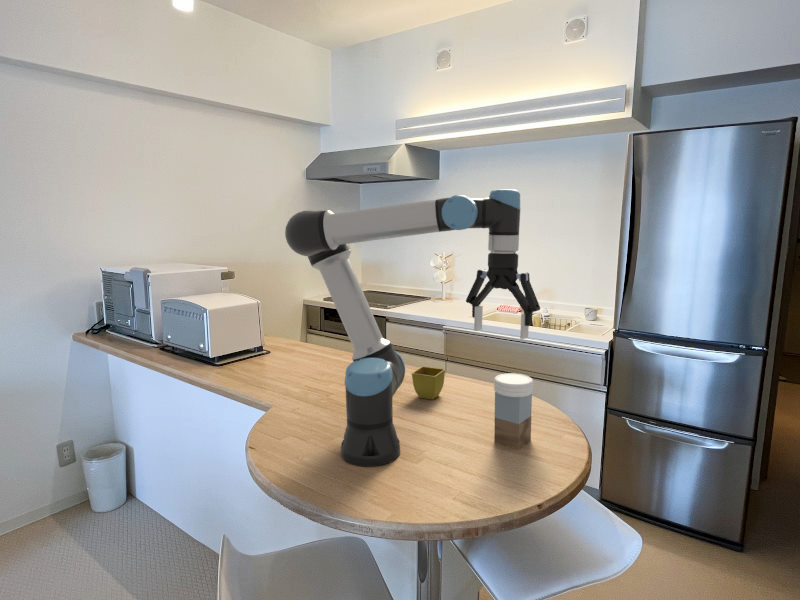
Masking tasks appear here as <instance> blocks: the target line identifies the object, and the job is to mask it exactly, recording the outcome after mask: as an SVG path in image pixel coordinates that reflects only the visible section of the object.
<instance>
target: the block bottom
mask: <svg viewBox="0 0 800 600" xmlns="http://www.w3.org/2000/svg"><path fill="white" fill-rule="evenodd" d="M493 438H494V443H496V444H498V445H503V446H505V447H508V448H512V449H514V450H518V451H519V450H520V449H521V448H523V447H524V446H526V445H527V444H528V443H529V442H531V440H532V415H531V416H530V417H529V418H527V419H526V420H524V421H523V422H521V423H520V424H517V423H513V422H509V421H506V420H502V419H499V418H495V417H494V437H493Z"/></svg>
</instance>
